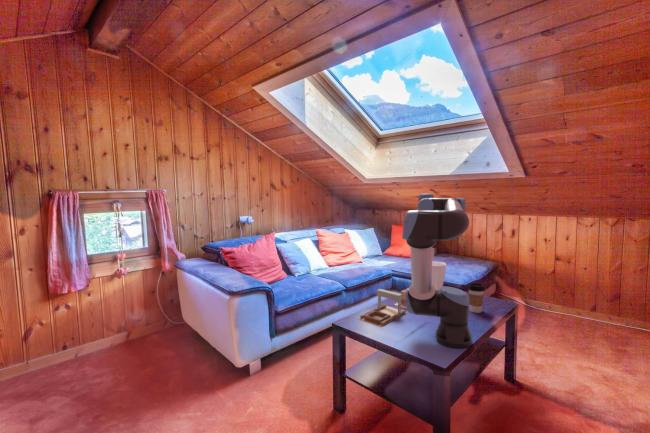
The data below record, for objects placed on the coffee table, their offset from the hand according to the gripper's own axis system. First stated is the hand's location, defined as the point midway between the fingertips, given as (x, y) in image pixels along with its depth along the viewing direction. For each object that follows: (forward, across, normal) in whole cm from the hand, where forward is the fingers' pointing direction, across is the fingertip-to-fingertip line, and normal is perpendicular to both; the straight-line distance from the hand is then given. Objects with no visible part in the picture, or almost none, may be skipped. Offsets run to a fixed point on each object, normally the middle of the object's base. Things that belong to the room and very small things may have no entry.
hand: (425, 261), depth 176 cm
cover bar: (+26, +16, -12) cm, 33 cm away
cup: (+29, -28, -7) cm, 41 cm away
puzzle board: (+29, +21, -12) cm, 38 cm away
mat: (+29, -4, -14) cm, 32 cm away
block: (+28, -4, -14) cm, 32 cm away
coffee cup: (+29, -22, +19) cm, 41 cm away
